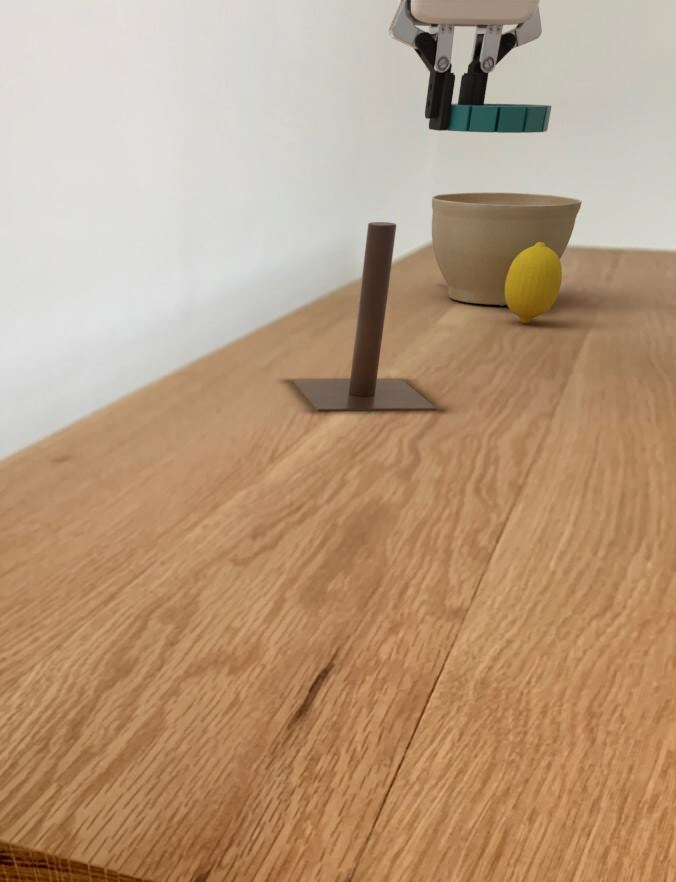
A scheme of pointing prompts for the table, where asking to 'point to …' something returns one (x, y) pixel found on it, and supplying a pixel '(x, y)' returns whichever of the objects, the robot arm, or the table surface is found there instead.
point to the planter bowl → (494, 237)
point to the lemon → (533, 282)
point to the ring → (499, 118)
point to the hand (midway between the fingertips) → (451, 128)
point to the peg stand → (368, 343)
